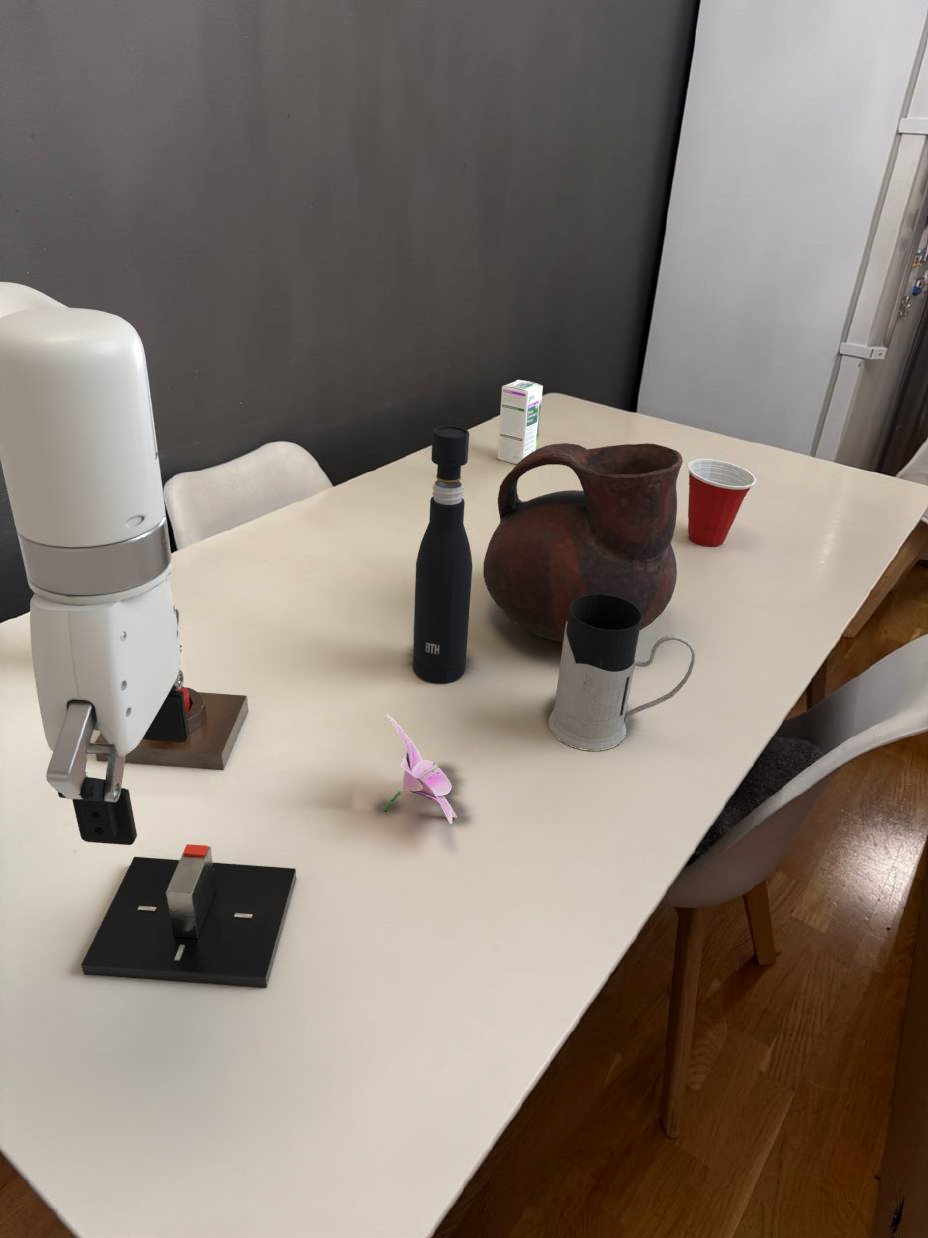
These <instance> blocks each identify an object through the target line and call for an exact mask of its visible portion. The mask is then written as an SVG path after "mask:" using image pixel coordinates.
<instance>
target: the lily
mask: <svg viewBox="0 0 928 1238" xmlns="http://www.w3.org/2000/svg"><path fill="white" fill-rule="evenodd" d="M385 714H386V716H387V718H388V720H389V721H390V722H391V724H392V725H393V727H394V728H395V730H396V731H397V733H398V734H399V736H400V738H401V740H402V742H403V744H404V747H405V749H406V756H404V757H403V758H402V759H401V762H400V767H401V768H402V769H403V771H404V772H403V781H402V785H401V788H400V789H399V790H398V791H397V792H396V794H394V795H393V796H392V797H391V799H390V800H389V802H388V803H387V804H386V806H385V807H384V809H383V811H382V813H387V812H388V810H389V809H390V807H391V806H392V804H393V803H394V801H395V800H396V799H397V798H398V797H399V796H400V795H401V794H403V793H404V792H410V793H413V794H416V795H419V796H423V797H426V798H428V799H431V800H433V801H435V802H436V803H438V804H439V805H440V807H441V809H442V811H443V813H444V815H445V817H446V819H447V821H448V823H449V824H453V818H458V816H457V814H456V812H455V810H454V809H453V807H452V806H451V804H450V803H449V801H448V800H447V799H446V797H445V796H447V795H448V794H450V793H451V791H452V788H453V787H452V783H451V781H450V779H449V778H448V776H447V775H446V774H445V772H443V770H442V769H441V768H442V767H443V766H442V765H437V764H436V762H433V761H431V760H428V759H423V757H422V755H421V753H420V751H419V750H418V748H417V746H416V745H415V743H414V742H413V740H412V739H411V738H410V736H409V735H408V734H407V733H406V731H405V730H404V729H403V728H402V726H401V725H400V724H399V723H398V722H397V720H395V719H394V718H393V717H392V716H391V715H390V714H389V713H387V712H386V713H385Z"/></svg>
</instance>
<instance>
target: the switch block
mask: <svg viewBox="0 0 928 1238" xmlns="http://www.w3.org/2000/svg"><path fill="white" fill-rule="evenodd" d="M184 687H185V688H186V689H187V690H188V693H189V701H190V708H189V710H188V711H187V712H186V716H187V723H188V731H189V735H188V737H187V739H186V741H184V742H168V741H155V740H145V739H143V738H142V740H141V741H140V743H139V744H138V745H137V747H136V748H135V749H133V750H132V751H131V752H130V753H128V754H126V757H125V764H136V765H148V766H163V767H176V768H188V769H203V770H215V771H216V770H217V771H224V770H225V769H226V768H225V767H226V765H227V763H228V761H229V758H230V756H231V753H232V751H233V748H234V747H235V745H236V741H237V739H238V737H239V735H240V732H241V730H242V728H243V725H244V722H245V720H246V718H247V716H248V713H249V703H248V702H249V701H248V695H245V694H231V693H216V692H204V691H203V692H201V691H197V690H195V689H194V688H192V687H186V686H184ZM94 743H97V744H109V743H108V742H107V740H106V739H105V738H104V736H103V735H102V733H101V732H100V733H99V735H98V736H97V738H96V739H95V741H94ZM110 745H113V744H110ZM108 757H109V755H98V754H95V759H96V761H97V762H107V763H108Z"/></svg>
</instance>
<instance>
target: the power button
mask: <svg viewBox="0 0 928 1238" xmlns="http://www.w3.org/2000/svg"><path fill="white" fill-rule="evenodd" d="M185 687H186V686H183V685H182V687H181V689H176V691H183V693H184V701H185V708H186V712H187V711H188V710H189V708H190V701H189V693H188V690H187V689H186V688H185Z"/></svg>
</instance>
